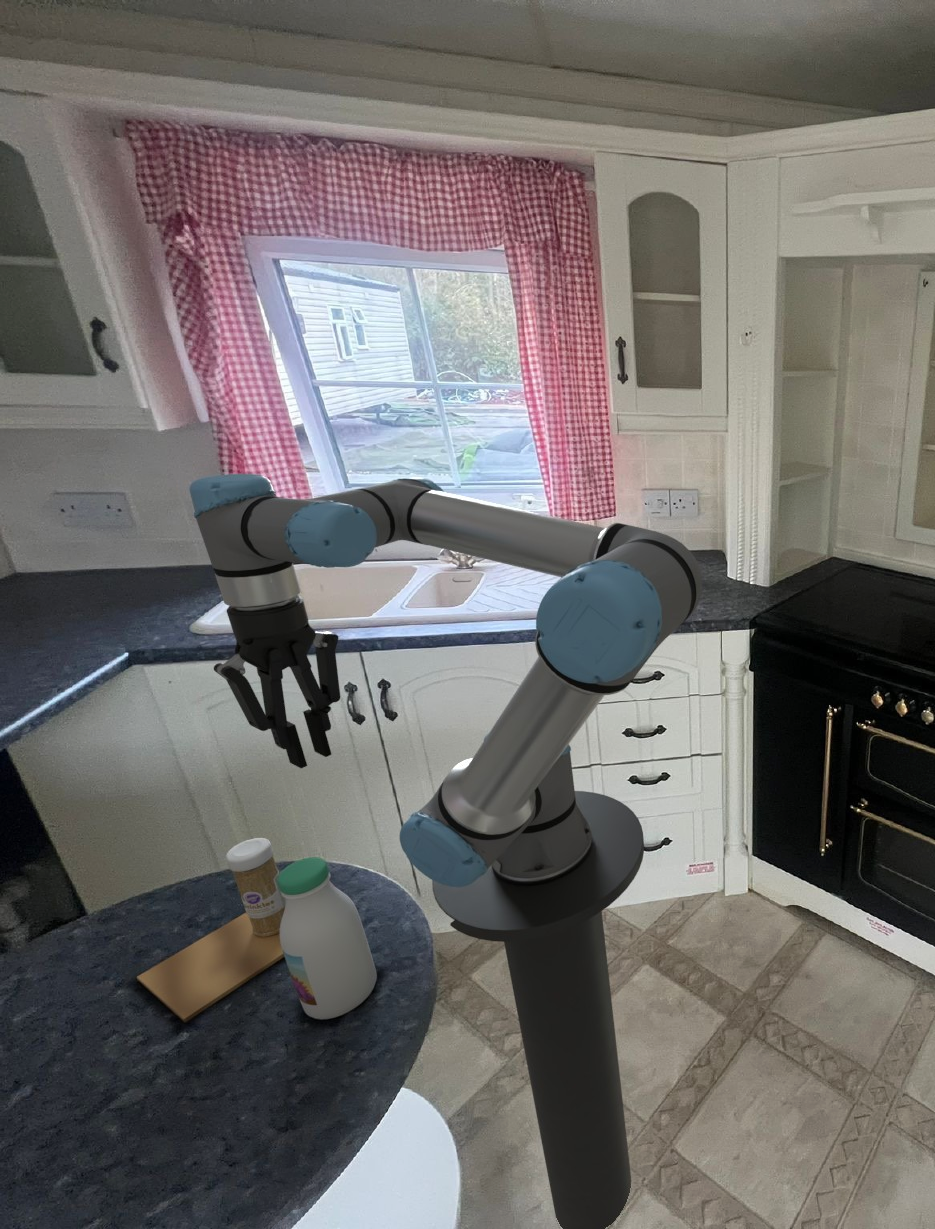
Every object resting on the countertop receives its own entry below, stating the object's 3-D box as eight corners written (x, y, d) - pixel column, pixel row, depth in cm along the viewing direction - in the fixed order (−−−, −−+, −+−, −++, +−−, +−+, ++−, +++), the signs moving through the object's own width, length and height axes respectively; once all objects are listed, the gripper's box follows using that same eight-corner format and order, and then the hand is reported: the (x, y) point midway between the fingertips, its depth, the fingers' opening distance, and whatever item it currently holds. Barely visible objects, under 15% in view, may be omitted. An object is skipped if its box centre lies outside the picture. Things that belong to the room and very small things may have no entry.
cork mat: (280, 895, 96) (279, 892, 96) (328, 927, 92) (327, 924, 91) (137, 980, 83) (136, 976, 83) (184, 1022, 78) (183, 1019, 78)
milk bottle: (383, 959, 87) (349, 839, 80) (371, 1009, 81) (333, 884, 73) (313, 977, 84) (271, 855, 77) (295, 1030, 78) (247, 903, 70)
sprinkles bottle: (249, 942, 88) (219, 864, 83) (258, 918, 92) (230, 841, 87) (291, 931, 90) (265, 854, 85) (298, 907, 94) (273, 832, 89)
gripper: (314, 578, 90) (353, 725, 99) (170, 613, 77) (229, 779, 86) (347, 588, 87) (383, 739, 96) (203, 627, 74) (261, 797, 83)
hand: (311, 758), depth 91 cm, fingers open, 2 cm apart
